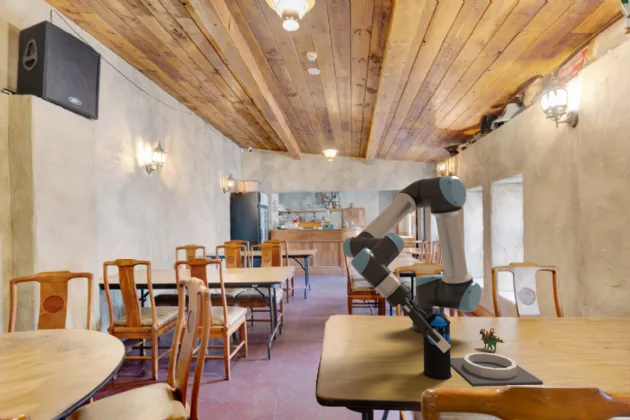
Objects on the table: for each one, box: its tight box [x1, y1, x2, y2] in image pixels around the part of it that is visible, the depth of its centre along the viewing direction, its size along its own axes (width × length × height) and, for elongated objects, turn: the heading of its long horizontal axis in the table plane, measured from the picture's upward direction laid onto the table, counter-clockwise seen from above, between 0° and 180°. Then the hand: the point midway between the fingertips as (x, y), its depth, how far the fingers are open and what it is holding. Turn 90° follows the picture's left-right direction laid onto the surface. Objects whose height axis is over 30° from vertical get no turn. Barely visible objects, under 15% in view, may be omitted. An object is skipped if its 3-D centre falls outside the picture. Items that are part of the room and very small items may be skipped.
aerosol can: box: [422, 307, 453, 381], centre depth 113 cm, size 8×8×20 cm
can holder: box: [450, 352, 544, 387], centre depth 115 cm, size 20×20×3 cm
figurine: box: [478, 327, 505, 352], centre depth 133 cm, size 3×12×8 cm, turn 17°
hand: (444, 342), depth 112 cm, fingers open, 13 cm apart
